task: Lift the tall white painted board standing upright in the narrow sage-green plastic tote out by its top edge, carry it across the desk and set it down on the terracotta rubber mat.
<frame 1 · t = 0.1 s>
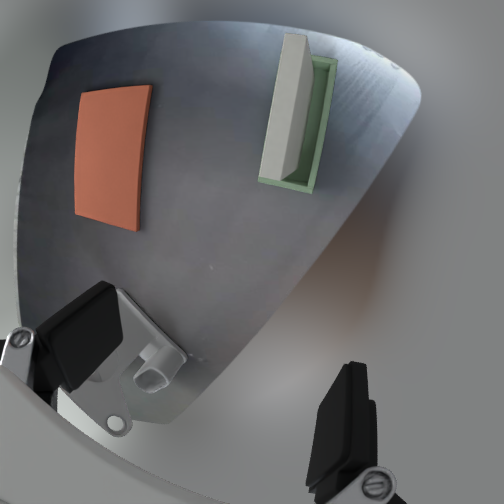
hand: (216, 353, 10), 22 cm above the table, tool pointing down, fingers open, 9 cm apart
mat: (106, 155, 33), on the table
tote: (301, 122, 26), on the table
board: (300, 121, 25), resting on tote
phone holder: (143, 334, 44), on the table
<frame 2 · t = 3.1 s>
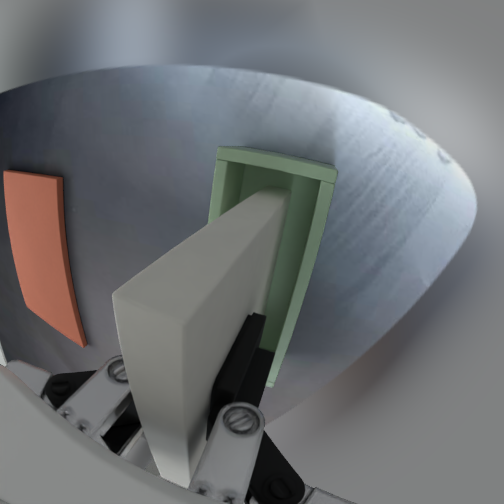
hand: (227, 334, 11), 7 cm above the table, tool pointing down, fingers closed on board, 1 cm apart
mat: (38, 256, 24), on the table
tote: (265, 265, 17), on the table
board: (263, 268, 17), resting on tote, touching gripper
phone holder: (115, 419, 36), on the table
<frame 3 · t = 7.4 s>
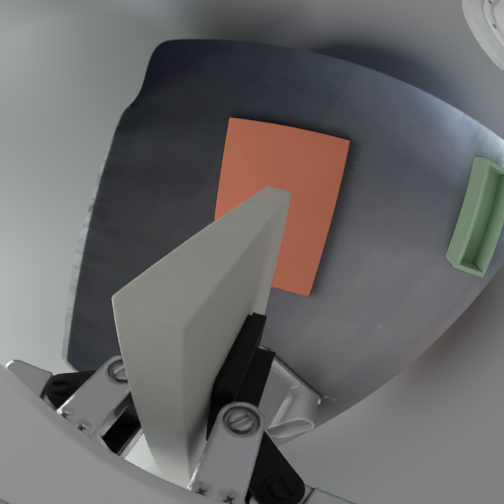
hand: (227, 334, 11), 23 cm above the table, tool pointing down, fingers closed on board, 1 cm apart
mat: (273, 208, 32), on the table
tote: (476, 213, 25), on the table
board: (263, 269, 17), point 17 cm above the table, touching gripper
phone holder: (273, 384, 44), on the table
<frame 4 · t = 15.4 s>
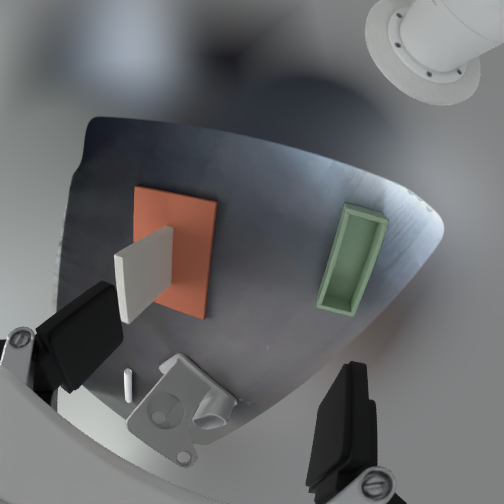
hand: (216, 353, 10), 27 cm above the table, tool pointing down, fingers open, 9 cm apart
mat: (170, 254, 42), on the table
tote: (349, 256, 35), on the table
board: (168, 256, 41), point 1 cm above the table, touching mat
phone holder: (198, 384, 53), on the table
marker: (130, 385, 63), on the table
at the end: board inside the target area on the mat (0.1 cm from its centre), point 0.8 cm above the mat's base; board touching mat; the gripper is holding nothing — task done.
